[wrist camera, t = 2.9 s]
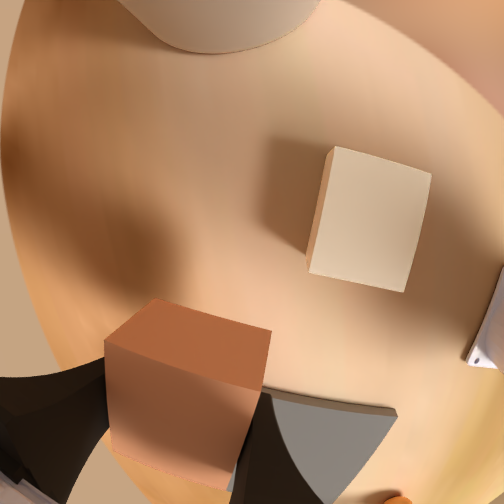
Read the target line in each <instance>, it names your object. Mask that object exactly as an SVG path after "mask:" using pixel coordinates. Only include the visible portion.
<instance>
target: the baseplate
mask: <svg viewBox="0 0 504 504" xmlns="http://www.w3.org/2000/svg"><path fill="white" fill-rule="evenodd" d="M261 392H265V393H269V394H271V396H272V400H273V406H274V411H275V415H276V419H277V422H278V425H279V428H280V431H281V434H282V437H283V440H284V442H285V444H286V447H287V449H288V451H289V453H290V455H291V457H292V459H293V461H294V463H295V465H296V466H297V468H298V470H299V471H300V473H301V475H302V476H303V478H304V479H305V480H306V482H307V483H308V484H309V486H310V487H311V488H312V490H313V491H314V492H315V494H316V495H317V496H318V497H319V498H320V499H321V500H322V502H323V503H324V504H332V503H333V502H334V501H335V500H336V499H337V498H338V497H339V496H340V494H341V493H342V492H343V491H344V490H345V489H346V487H347V486H348V485H349V484H350V483H351V481H352V480H353V479H354V478H355V477H356V475H357V474H358V473H359V472H360V470H361V469H362V468H363V466H364V465H365V464H366V462H367V461H368V460H369V458H370V457H371V456H372V454H373V453H374V452H375V450H376V449H377V447H378V446H379V445H380V443H381V442H382V440H383V439H384V437H385V436H386V434H387V433H388V431H389V430H390V428H391V427H392V425H393V424H394V422H395V421H396V419H397V418H398V416H397V413H396V410H395V409H390V408H380V407H371V406H363V405H356V404H348V403H342V402H335V401H329V400H323V399H317V398H312V397H307V396H301V395H296V394H292V393H287V392H282V391H278V390H273V389H269V388H265V387H262V389H261ZM236 464H237V463H236ZM235 472H236V465H235V468H234V471H233V473H232V476H231V479H230V481H229V484H228V487H227V489H226V491H229V492H232V490H233V485H234V478H235Z"/></svg>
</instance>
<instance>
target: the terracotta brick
mask: <svg viewBox="0 0 504 504" xmlns="http://www.w3.org/2000/svg"><path fill="white" fill-rule="evenodd" d="M271 333H272V331H270V330H266V329H262V328H258V327H254V326H251V325H247V324H243V323H239V322H235V321H232V320H228V319H225V318H221V317H217V316H214V315H210V314H207V313H203V312H200V311H196V310H193V309H190V308H186V307H183V306H180V305H177V304H173V303H170V302H167V301H164V300H161V299H157V298H154V299H153V300H152V301H151V302H149V303H148V304H147V305H146V306H144V307H143V308H142V309H141V310H140V311H138V312H137V313H136V314H135V315H134V316H132V317H131V318H130V319H129V320H127V321H126V322H125V323H124V324H123V325H121V326H120V327H119V328H118V329H117V330H115V331H114V332H113V333H112V334H111V335H109V336H108V337H107V338H106V339H105V340H104V356H105V379H106V394H107V406H108V416H109V425H110V433H111V441H112V448H113V451H114V452H117V453H119V454H121V455H123V456H125V457H128V458H130V459H132V460H134V461H137V462H139V463H142V464H144V465H146V466H149V467H152V468H154V469H157V470H159V471H162V472H165V473H168V474H170V475H173V476H176V477H179V478H182V479H185V480H188V481H192V482H195V483H198V484H202V485H205V486H209V487H212V488H216V489H220V490H224V491H226V489H227V487H228V484H229V481H230V479H231V476H232V473H233V471H234V468H235V465H236V463H237V460H238V457H239V454H240V451H241V449H242V446H243V443H244V440H245V437H246V435H247V432H248V429H249V426H250V423H251V420H252V417H253V414H254V411H255V408H256V405H257V402H258V399H259V396H260V393H261V389H262V383H263V378H264V373H265V367H266V361H267V356H268V350H269V344H270V339H271Z"/></svg>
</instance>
